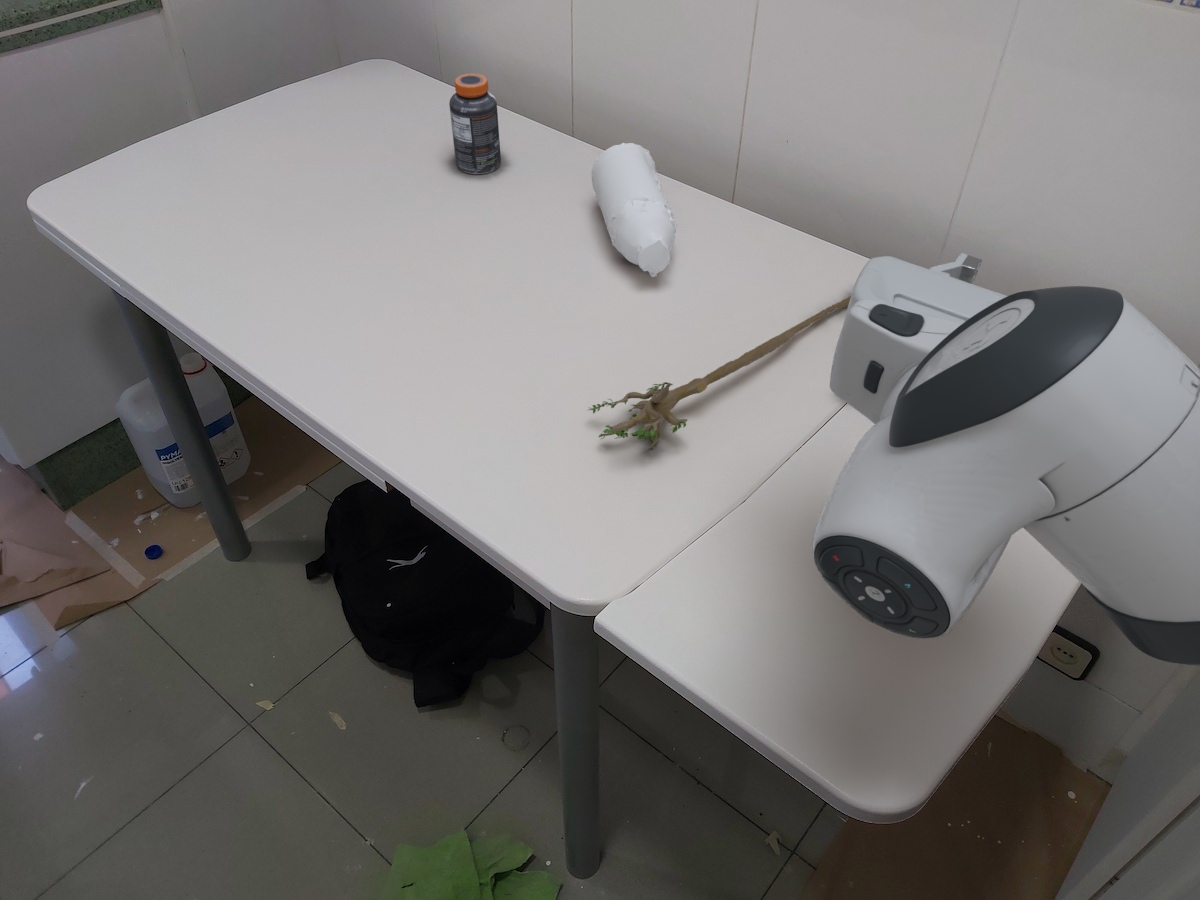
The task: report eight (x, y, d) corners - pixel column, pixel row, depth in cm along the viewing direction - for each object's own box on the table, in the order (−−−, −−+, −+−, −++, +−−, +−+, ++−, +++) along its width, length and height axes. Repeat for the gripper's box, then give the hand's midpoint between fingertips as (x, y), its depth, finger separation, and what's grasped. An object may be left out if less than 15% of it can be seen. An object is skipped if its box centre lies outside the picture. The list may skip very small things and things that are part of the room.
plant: (866, 290, 98) (884, 227, 92) (921, 327, 94) (944, 263, 88) (572, 430, 82) (572, 363, 77) (622, 482, 78) (626, 416, 72)
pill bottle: (499, 152, 119) (494, 67, 110) (502, 174, 115) (497, 88, 106) (455, 154, 118) (446, 69, 110) (456, 176, 114) (447, 90, 106)
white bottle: (616, 294, 97) (618, 231, 91) (590, 204, 110) (591, 144, 104) (686, 288, 98) (693, 226, 92) (653, 199, 111) (657, 140, 105)
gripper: (1200, 438, 45) (1235, 303, 53) (825, 299, 52) (906, 200, 60) (1143, 518, 49) (1183, 382, 57) (805, 379, 57) (883, 277, 65)
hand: (1038, 287), depth 59 cm, fingers open, 8 cm apart
